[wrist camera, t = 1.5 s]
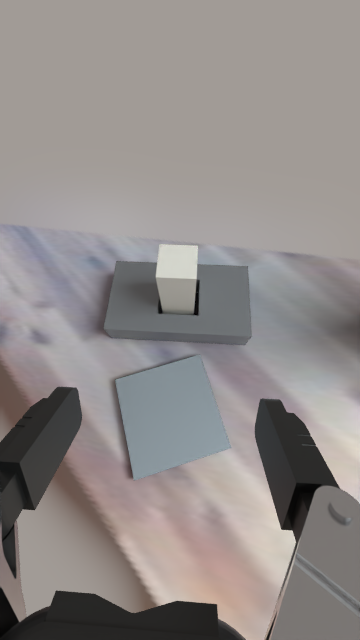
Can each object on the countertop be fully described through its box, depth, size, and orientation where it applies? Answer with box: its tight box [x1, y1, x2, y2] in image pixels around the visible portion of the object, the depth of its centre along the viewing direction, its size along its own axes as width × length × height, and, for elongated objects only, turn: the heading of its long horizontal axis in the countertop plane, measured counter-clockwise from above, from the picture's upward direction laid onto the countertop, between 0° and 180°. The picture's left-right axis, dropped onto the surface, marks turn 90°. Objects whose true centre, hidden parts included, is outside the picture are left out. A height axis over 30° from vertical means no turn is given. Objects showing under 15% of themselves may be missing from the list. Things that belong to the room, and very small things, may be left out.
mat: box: [115, 355, 231, 480], centre depth 29 cm, size 11×11×1 cm
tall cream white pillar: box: [156, 244, 198, 315], centre depth 29 cm, size 4×4×11 cm
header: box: [103, 261, 252, 345], centre depth 33 cm, size 18×10×4 cm, turn 87°
